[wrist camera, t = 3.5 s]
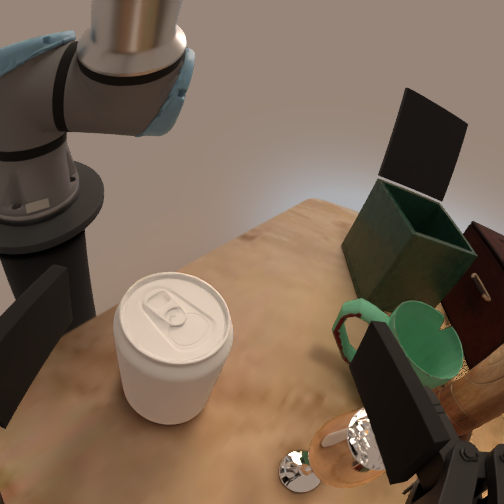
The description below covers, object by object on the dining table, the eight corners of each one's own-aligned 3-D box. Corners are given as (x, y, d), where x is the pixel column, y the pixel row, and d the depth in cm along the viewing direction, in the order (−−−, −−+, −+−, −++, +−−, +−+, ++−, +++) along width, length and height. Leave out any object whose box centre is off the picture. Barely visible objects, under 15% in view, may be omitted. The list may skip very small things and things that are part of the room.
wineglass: (299, 433, 26) (368, 382, 19) (339, 468, 24) (423, 430, 16) (258, 471, 23) (320, 440, 15) (303, 509, 20) (385, 495, 13)
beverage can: (168, 443, 22) (177, 399, 15) (106, 381, 25) (86, 304, 17) (225, 388, 28) (262, 318, 21) (165, 336, 31) (176, 250, 23)
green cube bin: (426, 317, 44) (478, 256, 36) (360, 307, 42) (413, 233, 33) (401, 260, 55) (439, 203, 46) (341, 244, 52) (377, 177, 44)
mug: (412, 368, 36) (461, 324, 29) (402, 431, 28) (464, 393, 22) (321, 321, 38) (359, 264, 32) (295, 381, 31) (340, 329, 24)
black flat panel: (468, 124, 39) (465, 123, 40) (408, 87, 37) (405, 87, 38) (442, 201, 45) (439, 200, 46) (380, 176, 43) (377, 174, 44)
